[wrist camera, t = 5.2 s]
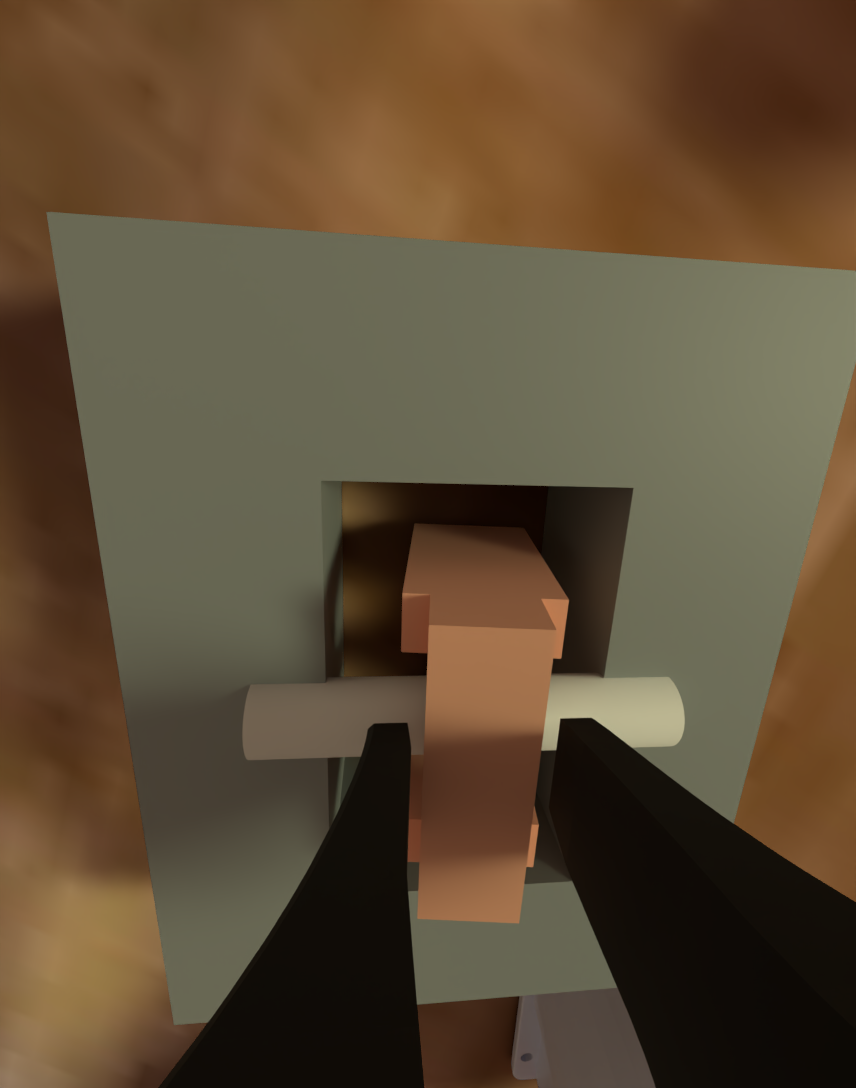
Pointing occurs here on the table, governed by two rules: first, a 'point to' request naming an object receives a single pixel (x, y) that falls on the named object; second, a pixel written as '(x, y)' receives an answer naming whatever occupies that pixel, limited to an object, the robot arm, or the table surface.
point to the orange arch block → (478, 713)
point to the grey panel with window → (428, 457)
